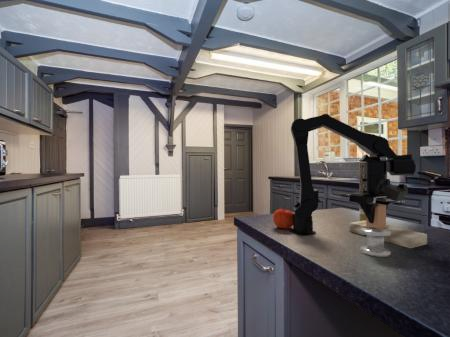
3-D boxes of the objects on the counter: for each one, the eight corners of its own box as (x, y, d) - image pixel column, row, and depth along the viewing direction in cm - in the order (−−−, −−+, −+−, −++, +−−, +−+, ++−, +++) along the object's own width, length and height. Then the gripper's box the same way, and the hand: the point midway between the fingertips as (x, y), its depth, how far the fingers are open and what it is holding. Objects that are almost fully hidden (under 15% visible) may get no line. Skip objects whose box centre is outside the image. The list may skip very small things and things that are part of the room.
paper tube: (382, 226, 94) (382, 160, 94) (362, 225, 96) (362, 161, 95) (375, 222, 101) (375, 161, 100) (357, 221, 102) (357, 161, 102)
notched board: (349, 231, 88) (349, 222, 88) (364, 228, 91) (364, 220, 91) (410, 248, 70) (410, 237, 70) (427, 244, 73) (427, 234, 73)
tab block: (366, 227, 83) (366, 204, 83) (374, 226, 84) (374, 203, 84) (377, 230, 79) (377, 205, 79) (386, 229, 81) (386, 204, 81)
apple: (268, 227, 94) (268, 206, 94) (282, 224, 99) (282, 204, 99) (285, 232, 88) (285, 209, 88) (299, 228, 93) (299, 207, 93)
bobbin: (354, 250, 69) (354, 228, 68) (371, 246, 71) (371, 226, 71) (379, 259, 62) (379, 235, 62) (397, 254, 65) (397, 232, 65)
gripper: (381, 177, 70) (381, 231, 71) (420, 175, 78) (419, 224, 78) (347, 175, 81) (347, 223, 81) (385, 174, 88) (384, 218, 88)
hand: (375, 222), depth 82 cm, fingers closed on tab block, 4 cm apart
